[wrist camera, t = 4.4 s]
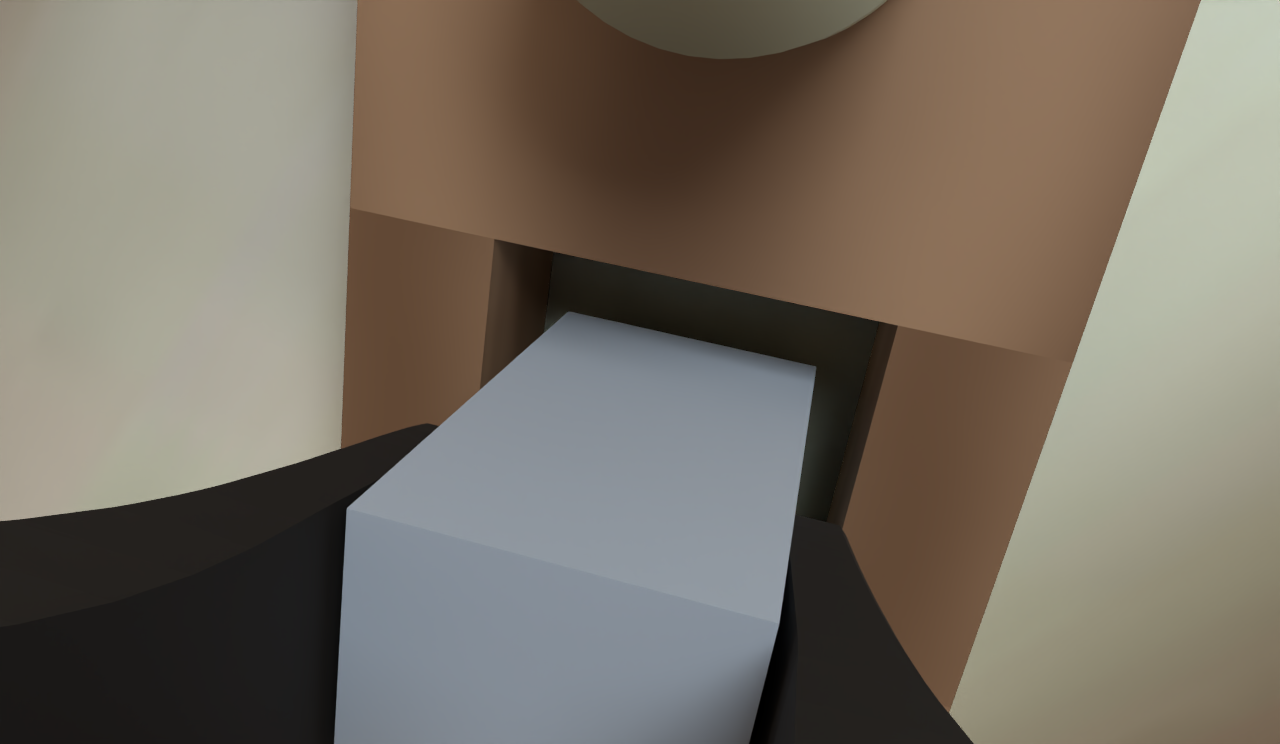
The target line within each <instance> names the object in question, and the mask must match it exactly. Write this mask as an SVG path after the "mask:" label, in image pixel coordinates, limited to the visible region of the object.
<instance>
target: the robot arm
mask: <svg viewBox="0 0 1280 744" xmlns="http://www.w3.org/2000/svg"><path fill="white" fill-rule="evenodd" d="M438 427H439V426H437V425H433V424H429V423H425V424H420V425H415V426H411V427H408V428H404V429H401V430H397V431H394V432H391V433H388V434H384V435H381V436H378V437H375V438H372V439H369V440H366V441H363V442H360V443H357V444H354V445H351V446H348V447H345V448H342V449H339V450H336V451H333V452H330V453H327V454H324V455H321V456H318V457H315V458H312V459H308V460H305V461H302V462H299V463H296V464H293V465H289V466H286V467H282V468H279V469H275V470H272V471H268V472H265V473H261V474H258V475H254V476H251V477H247V478H244V479H240V480H237V481H233V482H230V483H226V484H223V485H219V486H215V487H211V488H207V489H203V490H198V491H194V492H189V493H185V494H181V495H176V496H171V497H166V498H161V499H156V500H151V501H145V502H140V503H135V504H130V505H124V506H118V507H112V508H105V509H97V510H89V511H82V512H74V513H67V514H59V515H51V516H44V517H36V518H28V519H20V520H10V521H0V744H334V736H335V717H336V699H337V680H338V662H339V643H340V625H341V606H342V588H343V569H344V551H345V532H346V514H347V508H348V507H349V506H350V505H351V504H352V503H353V502H354V501H356V500H357V499H358V498H359V497H360V496H361V495H362V494H363V493H365V492H366V491H367V490H368V489H369V488H370V487H371V486H372V485H374V484H375V483H376V482H377V481H378V480H379V479H380V478H381V477H383V476H384V475H385V474H386V473H387V472H388V471H389V470H390V469H392V468H393V467H394V466H395V465H396V464H397V463H398V462H399V461H401V460H402V459H403V458H404V457H405V456H406V455H407V454H408V453H410V452H411V451H412V450H413V449H414V448H415V447H416V446H417V445H419V444H420V443H421V442H422V441H423V440H424V439H425V438H426V437H428V436H429V435H430V434H431V433H432V432H433V431H434V430H435V429H437V428H438ZM749 744H973V742H972V741H971V740H970V739H969V738H968V736H967V735H966V734H965V733H964V731H963V730H962V729H961V728H960V726H959V725H958V724H957V723H956V721H955V720H954V719H953V718H952V717H951V715H950V714H949V713H948V712H947V710H946V709H945V708H944V707H943V705H942V704H941V703H940V702H939V700H938V699H937V698H936V696H935V695H934V693H933V692H932V691H931V689H930V688H929V687H928V685H927V684H926V683H925V681H924V680H923V678H922V677H921V675H920V674H919V672H918V671H917V669H916V668H915V666H914V665H913V663H912V661H911V660H910V658H909V657H908V655H907V654H906V652H905V650H904V649H903V647H902V645H901V644H900V642H899V640H898V639H897V637H896V635H895V633H894V632H893V630H892V628H891V626H890V625H889V623H888V621H887V619H886V617H885V616H884V614H883V612H882V610H881V608H880V607H879V605H878V603H877V601H876V599H875V597H874V595H873V593H872V591H871V589H870V587H869V585H868V583H867V581H866V579H865V577H864V575H863V573H862V571H861V569H860V566H859V564H858V562H857V560H856V557H855V555H854V553H853V551H852V548H851V546H850V543H849V541H848V538H847V536H846V534H845V533H844V531H843V530H842V528H841V526H840V525H836V524H832V523H828V522H824V521H820V520H816V519H812V518H808V517H804V516H800V515H796V514H795V519H794V526H793V533H792V539H791V546H790V553H789V560H788V567H787V574H786V581H785V588H784V595H783V602H782V609H781V615H780V622H779V627H778V631H777V635H776V639H775V643H774V647H773V651H772V655H771V658H770V662H769V666H768V670H767V674H766V678H765V682H764V686H763V690H762V694H761V698H760V702H759V706H758V710H757V714H756V718H755V722H754V726H753V730H752V733H751V737H750V741H749Z"/></svg>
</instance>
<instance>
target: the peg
mask: <svg viewBox="0 0 1280 744" xmlns="http://www.w3.org/2000/svg"><path fill="white" fill-rule="evenodd" d="M815 373H816V366H811V365H807V364H803V363H798V362H794V361H789V360H785V359H780V358H776V357H771V356H767V355H762V354H758V353H753V352H749V351H744V350H740V349H735V348H731V347H726V346H722V345H717V344H713V343H708V342H704V341H700V340H695V339H691V338H686V337H682V336H677V335H673V334H668V333H664V332H659V331H655V330H650V329H646V328H641V327H637V326H632V325H628V324H623V323H619V322H614V321H610V320H606V319H601V318H597V317H592V316H588V315H583V314H579V313H574V312H570V311H568V312H567V313H566V314H565V315H564V316H563V317H561V318H560V319H559V320H558V321H557V322H556V323H555V324H554V325H552V326H551V327H550V328H549V329H548V330H547V331H546V332H545V333H543V334H542V335H541V336H540V337H539V338H538V339H537V340H536V341H534V342H533V343H532V344H531V345H530V346H529V347H528V348H527V349H525V350H524V351H523V352H522V353H521V354H520V355H519V356H518V357H516V358H515V359H514V360H513V361H512V362H511V363H510V364H509V365H507V366H506V367H505V368H504V369H503V370H502V371H501V372H500V373H498V374H497V375H496V376H495V377H494V378H493V379H492V380H491V381H489V382H488V383H487V384H486V385H485V386H484V387H483V388H482V389H480V390H479V391H478V392H477V393H476V394H475V395H474V396H473V397H471V398H470V399H469V400H468V401H467V402H466V403H465V404H464V405H462V406H461V407H460V408H459V409H458V410H457V411H456V412H455V413H453V414H452V415H451V416H450V417H449V418H448V419H447V420H446V421H444V422H443V423H442V424H441V425H440V426H439V427H438V428H437V429H435V430H434V431H433V432H432V433H431V434H430V435H429V436H428V437H426V438H425V439H424V440H423V441H422V442H421V443H420V444H419V445H417V446H416V447H415V448H414V449H413V450H412V451H411V452H410V453H408V454H407V455H406V456H405V457H404V458H403V459H402V460H401V461H399V462H398V463H397V464H396V465H395V466H394V467H393V468H392V469H390V470H389V471H388V472H387V473H386V474H385V475H384V476H383V477H381V478H380V479H379V480H378V481H377V482H376V483H375V484H374V485H372V486H371V487H370V488H369V489H368V490H367V491H366V492H365V493H363V494H362V495H361V496H360V497H359V498H358V499H357V500H356V501H354V502H353V503H352V504H351V505H350V506H349V507H348V508H347V514H346V532H345V551H344V569H343V588H342V606H341V625H340V643H339V662H338V680H337V699H336V717H335V736H334V744H749V741H750V737H751V733H752V730H753V726H754V722H755V718H756V714H757V710H758V706H759V702H760V698H761V694H762V690H763V686H764V682H765V678H766V674H767V670H768V666H769V662H770V658H771V655H772V651H773V647H774V643H775V639H776V635H777V631H778V627H779V622H780V615H781V609H782V602H783V595H784V588H785V581H786V574H787V567H788V560H789V553H790V546H791V539H792V533H793V526H794V519H795V512H796V505H797V498H798V491H799V484H800V477H801V470H802V463H803V456H804V450H805V443H806V436H807V429H808V422H809V415H810V408H811V401H812V394H813V387H814V380H815Z"/></svg>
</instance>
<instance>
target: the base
mask: <svg viewBox="0 0 1280 744" xmlns="http://www.w3.org/2000/svg"><path fill="white" fill-rule="evenodd" d="M1200 1H1201V0H358V7H357V34H356V61H355V88H354V115H353V142H352V169H351V196H350V223H349V250H348V277H347V304H346V331H345V358H344V385H343V412H342V439H341V449H342V448H345V447H348V446H351V445H354V444H357V443H360V442H363V441H366V440H369V439H372V438H375V437H378V436H381V435H384V434H388V433H391V432H394V431H397V430H401V429H404V428H408V427H411V426H415V425H420V424H425V423H429V424H433V425H437V426H440V425H441V424H442V423H443V422H444V421H446V420H447V419H448V418H449V417H450V416H451V415H452V414H453V413H455V412H456V411H457V410H458V409H459V408H460V407H461V406H462V405H464V404H465V403H466V402H467V401H468V400H469V399H470V398H471V397H473V396H474V395H475V394H476V393H477V392H478V391H479V390H480V389H482V388H483V387H484V386H485V385H486V384H487V383H488V382H489V381H491V380H492V379H493V378H494V377H495V376H496V375H497V374H498V373H500V372H501V371H502V370H503V369H504V368H505V367H506V366H507V365H509V364H510V363H511V362H512V361H513V360H514V359H515V358H516V357H518V356H519V355H520V354H521V353H522V352H523V351H524V350H525V349H527V348H528V347H529V346H530V345H531V344H532V343H533V342H534V341H536V340H537V339H538V338H539V337H540V336H541V335H542V334H543V333H544V325H545V317H546V309H547V301H548V292H549V284H550V276H551V268H552V260H553V252H558V253H562V254H567V255H572V256H576V257H581V258H586V259H590V260H595V261H600V262H604V263H609V264H614V265H618V266H623V267H628V268H632V269H637V270H642V271H646V272H651V273H656V274H660V275H665V276H670V277H674V278H679V279H684V280H688V281H693V282H698V283H702V284H707V285H712V286H716V287H721V288H726V289H730V290H735V291H740V292H744V293H749V294H754V295H758V296H763V297H768V298H772V299H777V300H782V301H786V302H791V303H796V304H800V305H805V306H810V307H814V308H819V309H824V310H828V311H833V312H838V313H842V314H847V315H852V316H856V317H861V318H866V319H870V320H875V321H880V322H879V325H878V329H877V333H876V337H875V340H874V344H873V348H872V352H871V355H870V359H869V363H868V367H867V371H866V374H865V378H864V382H863V386H862V389H861V393H860V397H859V401H858V405H857V408H856V412H855V416H854V420H853V423H852V427H851V431H850V435H849V439H848V442H847V446H846V450H845V454H844V457H843V461H842V465H841V469H840V473H839V476H838V480H837V484H836V488H835V491H834V495H833V499H832V503H831V506H830V510H829V514H828V518H827V522H828V523H832V524H836V525H840V526H841V528H842V530H843V531H844V533H845V534H846V536H847V538H848V541H849V543H850V546H851V548H852V551H853V553H854V555H855V557H856V560H857V562H858V564H859V566H860V569H861V571H862V573H863V575H864V577H865V579H866V581H867V583H868V585H869V587H870V589H871V591H872V593H873V595H874V597H875V599H876V601H877V603H878V605H879V607H880V608H881V610H882V612H883V614H884V616H885V617H886V619H887V621H888V623H889V625H890V626H891V628H892V630H893V632H894V633H895V635H896V637H897V639H898V640H899V642H900V644H901V645H902V647H903V649H904V650H905V652H906V654H907V655H908V657H909V658H910V660H911V661H912V663H913V665H914V666H915V668H916V669H917V671H918V672H919V674H920V675H921V677H922V678H923V680H924V681H925V683H926V684H927V685H928V687H929V688H930V689H931V691H932V692H933V693H934V695H935V696H936V698H937V699H938V700H939V702H940V703H941V704H942V705H943V707H944V708H945V709H946V710H947V712H948V713H949V711H950V708H951V705H952V703H953V700H954V697H955V694H956V691H957V688H958V686H959V683H960V680H961V677H962V674H963V671H964V669H965V666H966V663H967V660H968V657H969V654H970V652H971V649H972V646H973V643H974V640H975V637H976V635H977V632H978V629H979V626H980V623H981V620H982V618H983V615H984V612H985V609H986V606H987V604H988V601H989V598H990V595H991V592H992V589H993V587H994V584H995V581H996V578H997V575H998V572H999V570H1000V567H1001V564H1002V561H1003V558H1004V555H1005V553H1006V550H1007V547H1008V544H1009V541H1010V538H1011V536H1012V533H1013V530H1014V527H1015V524H1016V522H1017V519H1018V516H1019V513H1020V510H1021V507H1022V505H1023V502H1024V499H1025V496H1026V493H1027V490H1028V488H1029V485H1030V482H1031V479H1032V476H1033V473H1034V471H1035V468H1036V465H1037V462H1038V459H1039V456H1040V454H1041V451H1042V448H1043V445H1044V442H1045V439H1046V437H1047V434H1048V431H1049V428H1050V425H1051V423H1052V420H1053V417H1054V414H1055V411H1056V408H1057V406H1058V403H1059V400H1060V397H1061V394H1062V391H1063V389H1064V386H1065V383H1066V380H1067V377H1068V374H1069V372H1070V369H1071V366H1072V363H1073V360H1074V357H1075V355H1076V352H1077V349H1078V346H1079V343H1080V341H1081V338H1082V335H1083V332H1084V329H1085V326H1086V324H1087V321H1088V318H1089V315H1090V312H1091V309H1092V307H1093V304H1094V301H1095V298H1096V295H1097V292H1098V290H1099V287H1100V284H1101V281H1102V278H1103V275H1104V273H1105V270H1106V267H1107V264H1108V261H1109V258H1110V256H1111V253H1112V250H1113V247H1114V244H1115V242H1116V239H1117V236H1118V233H1119V230H1120V227H1121V225H1122V222H1123V219H1124V216H1125V213H1126V210H1127V208H1128V205H1129V202H1130V199H1131V196H1132V193H1133V191H1134V188H1135V185H1136V182H1137V179H1138V176H1139V174H1140V171H1141V168H1142V165H1143V162H1144V160H1145V157H1146V154H1147V151H1148V148H1149V145H1150V143H1151V140H1152V137H1153V134H1154V131H1155V128H1156V126H1157V123H1158V120H1159V117H1160V114H1161V111H1162V109H1163V106H1164V103H1165V100H1166V97H1167V94H1168V92H1169V89H1170V86H1171V83H1172V80H1173V77H1174V75H1175V72H1176V69H1177V66H1178V63H1179V61H1180V58H1181V55H1182V52H1183V49H1184V46H1185V44H1186V41H1187V38H1188V35H1189V32H1190V29H1191V27H1192V24H1193V21H1194V18H1195V15H1196V12H1197V10H1198V7H1199V4H1200Z"/></svg>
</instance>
